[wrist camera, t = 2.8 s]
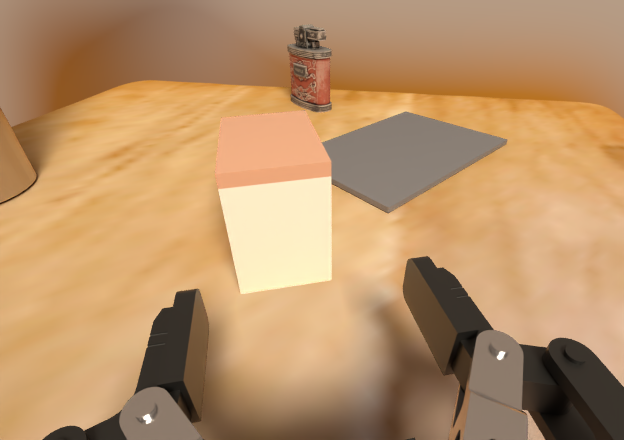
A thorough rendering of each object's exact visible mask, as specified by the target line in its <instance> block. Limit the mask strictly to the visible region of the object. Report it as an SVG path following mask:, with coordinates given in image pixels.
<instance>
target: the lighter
mask: <svg viewBox="0 0 624 440" xmlns="http://www.w3.org/2000/svg"><path fill="white" fill-rule="evenodd" d="M294 36H295V40H296V44H290V45H288V52H289V54H290V70H291V85H292V94H291V101H292V102H293V103H294V104H296V105H298V106H300V107H302V108H305V109H307V110H311V111H314V112H327V111H330V110H331V102H330V57H331V49H329V48H326V47H322V46H319V41H320V40H326V31H325V30H324V28H317V27H314V26H313V25H302V26H299V27H294ZM318 40H319V41H318Z"/></svg>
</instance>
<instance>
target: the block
mask: <svg viewBox="0 0 624 440" xmlns="http://www.w3.org/2000/svg"><path fill="white" fill-rule="evenodd" d="M215 177H216V182H217V186H218V191H219V196H220V200H221V205H222V209H223V214H224V219H225V223H226V228H227V233H228V237H229V242H230V247H231V251H232V256H233V260H234V265H235V270H236V274H237V279H238V284H239V288H240V293H241V294H244V293H251V292H257V291H264V290H270V289H277V288H283V287H290V286H297V285H303V284H310V283H316V282H323V281H329V280H331V160H330V158H329V156H328V154H327V152H326V150H325V148H324V146H323V144H322V142H321V140H320V138H319V136H318V134H317V133H316V131H315V129H314V127H313V125H312V123H311V121H310V119H309V117H308V115H307V113H306V111H305V110H302V111H291V112H279V113H268V114H257V115H246V116H234V117H223V118H221V123H220V132H219V141H218V150H217V159H216V169H215Z"/></svg>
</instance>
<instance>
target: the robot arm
mask: <svg viewBox="0 0 624 440" xmlns="http://www.w3.org/2000/svg"><path fill="white" fill-rule="evenodd" d="M36 176H37V175H36V173H35V171H34V169H33V167H32V165H31V163H30V162H29V160H28V158H27V156H26V154H25V152H24V151H23V149H22V147H21V145H20V143H19V141H18V139H17V138H16V135H15V134H14V132H13V130H12V128H11V126H10V125H9V123H8V121H7V119H6V117H5V115H4V113H3V112H2V110H1V108H0V203H1V202H3V201H6V200H8V199H10V198H12V197H14V196H16V195H18V194H19V193H21V192H22V191H24V190H26V189H27V188H28V187H29V186H30V185H32V184H33V182H34V181H35V180H36ZM403 294H404V298H405V301H406V303H407V305H408V307H409V309H410V311H411V313H412V315H413V317H414V319H415V321H416V323H417V325H418V326H419V328H420V330H421V332H422V334H423V336H424V338H425V340H426V342H427V344H428V346H429V348H430V350H431V352H432V354H433V356H434V358H435V360H436V362H437V363H438V365H439V367H440V369H441V371H442V373H443V375H449V374H455V376H456V377H457V379H458V381H459V387H458V392H457V397H456V403H455V408H454V413H453V418H452V424H451V429H450V434H449V438H448V440H528V417H527V414H526V413H525V412H523V411H522V410H528V411H529V413H530V415H531V416H532V418H533V420H534V421H535V423H536V425H537V426H538V428H539V430H540V431H541V433H542V435H543V436H544V438H545V439H546V440H624V387H623V386H622V385H621V383H620V382H619V381H618V380H617V379H616V378H615V377H614V375H613V374H612V373H611V372H610V371H609V370H608V369H607V367H606V366H605V365H604V364H603V363H602V362H601V361H600V359H599V358H598V357H597V356H596V355H595V354H594V353H593V352H592V351H591V350H590V349H589V348H587V347H586V346H585V345H583V344H581V343H579V342H577V341H575V340H572V339H568V338H556V339H554V340H552V341H551V342H550V343H549V345H548V347H547V348H545V347H537V346H530V345H522V344H518V343H517V342H516V341H515V340H514V339H513V338H512V337H510V336H509V335H507V334H505V333H503V332H500V331H496V330H494V329H493V328H492V327H491V325H490V324H489V323H488V321H487V320H486V319H485V317H484V316H483V314H482V313H481V312H480V310H479V309H478V307H477V306H476V305H475V303H474V302H473V301H472V299H471V298H470V297H468V294H467V292H466V291H465V290H464V288H462V285H461V284H460V283H459V281H458V280H457V278H456V277H455V276H454V275H453V274H451V273H450V272H449V271H447V270H446V269H444V268H437V267H436V266H435V264H434V263H433V262H432V260H431V259H430V258H429V257H428V256H426V257H419V258H411V259H408V261H407V265H406V271H405V277H404V283H403ZM208 335H209V324H208V317H207V313H206V310H205V307H204V303H203V300H202V297H201V293H200V291H199V289H193V290H186V291H179V292H177V293H176V295H175V300H174V305H173V307H170V308H163V309H162V310H161V312H160V313H159V314H158V316H157V317H156V318H155V320H154V322H153V325H152V329H151V333H150V337H149V341H148V348H147V349H146V353H145V357H144V361H143V365H142V368H141V372H140V376H139V380H138V384H137V388H136V391H135V393H134V395H133V396H132V397H131V398H130V399H129V400H128V402H127V403H126V404H125V406H124V407H123V409H122V410H121V411H120V412H119V413H118V414H116V415H115V416H113V417H111V418H109V419H108V420H106V421H103V422H101V423H99V424H97V425H95V426H93V427H91V428H89V429H87V430H85V431H83V430H82V429H81V428H80V427H77V426H66V427H62V428H60V429H57V430H55V431H54V432H52V433H50V434H49V435H48V436H46V437H45V438H44V439H43V440H204V439H203V438H202V437H201V436H200V434H199V433H198V432H197V430H196V429H195V428H194V426H193V425H192V424H191V423H193V422H198V421H201V412H202V401H203V390H204V379H205V368H206V357H207V346H208ZM407 440H415V438H412V439H407Z"/></svg>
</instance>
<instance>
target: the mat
mask: <svg viewBox="0 0 624 440" xmlns="http://www.w3.org/2000/svg"><path fill="white" fill-rule="evenodd" d="M506 143H507V139H503V138H500V137H496V136H492V135H489V134H485V133H482V132H478V131H474V130H471V129H467V128H463V127H460V126H456V125H453V124H449V123H445V122H442V121H438V120H435V119H431V118H427V117H424V116H420V115H416V114H413V113H409V112H403V113H401V114H398V115H395V116H393V117H390V118H387V119H385V120H382V121H379V122H377V123H374V124H371V125H368V126H366V127H363V128H360V129H358V130H355V131H352V132H350V133H347V134H344V135H342V136H339V137H336V138H333V139H331V140H328V141H325V142H323V143H322V144H323V146H324V148H325V150H326V152H327V154H328V156H329V158H330V160H331V183H332V184H334V185H336V186H337V187H339V188H341V189H343V190H345V191H347V192H349V193H351V194H353V195H355V196H356V197H358V198H360V199H362V200H364V201H366V202H368V203H370V204H372V205H374V206H376V207H377V208H379V209H381V210H383V211H385V212H387V213H389V212H391V211H393V210H394V209H396V208H398V207H400V206H401V205H403V204H405V203H406V202H408V201H410V200H411V199H413V198H415V197H417V196H418V195H420V194H422V193H423V192H425V191H427V190H429V189H430V188H432V187H434V186H435V185H437V184H439V183H441V182H442V181H444V180H446V179H447V178H449V177H451V176H453V175H454V174H456V173H458V172H459V171H461V170H463V169H464V168H466V167H468V166H470V165H471V164H473V163H475V162H476V161H478V160H480V159H482V158H483V157H485V156H487V155H488V154H490V153H492V152H494V151H495V150H497V149H499V148H500V147H502V146H504V145H505V144H506Z"/></svg>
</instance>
